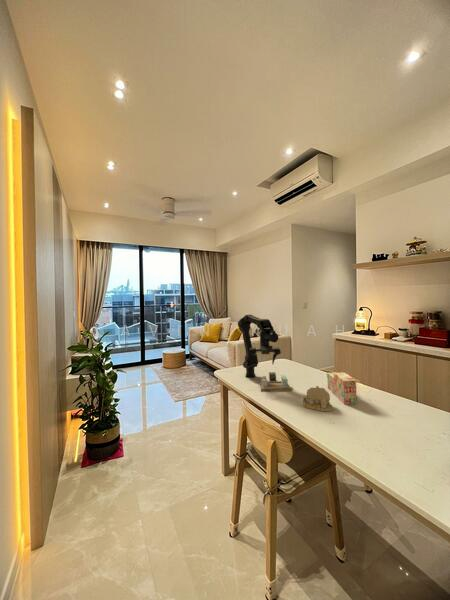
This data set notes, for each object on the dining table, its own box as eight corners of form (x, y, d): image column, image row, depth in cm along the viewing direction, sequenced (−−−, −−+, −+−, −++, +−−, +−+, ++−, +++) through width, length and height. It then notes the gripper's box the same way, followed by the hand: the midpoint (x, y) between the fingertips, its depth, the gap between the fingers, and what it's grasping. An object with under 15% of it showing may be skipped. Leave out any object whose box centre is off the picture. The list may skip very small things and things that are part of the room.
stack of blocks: (327, 388, 146) (326, 367, 145) (338, 387, 146) (337, 367, 145) (344, 404, 124) (343, 380, 124) (356, 404, 124) (356, 379, 124)
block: (269, 379, 163) (268, 372, 163) (275, 379, 163) (275, 372, 163) (269, 381, 159) (269, 374, 159) (276, 381, 159) (275, 374, 159)
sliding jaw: (281, 382, 154) (281, 375, 154) (285, 382, 154) (285, 375, 153) (283, 387, 146) (283, 379, 146) (287, 387, 146) (287, 379, 146)
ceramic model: (331, 402, 127) (330, 383, 127) (334, 412, 117) (334, 391, 116) (302, 400, 131) (301, 381, 131) (303, 410, 120) (302, 389, 120)
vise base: (259, 383, 157) (259, 375, 157) (287, 383, 156) (286, 374, 156) (261, 391, 145) (260, 381, 145) (290, 390, 144) (290, 381, 144)
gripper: (249, 342, 148) (250, 368, 149) (281, 342, 146) (281, 368, 146) (249, 338, 159) (250, 362, 160) (279, 338, 157) (279, 362, 157)
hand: (265, 364), depth 155 cm, fingers open, 9 cm apart
